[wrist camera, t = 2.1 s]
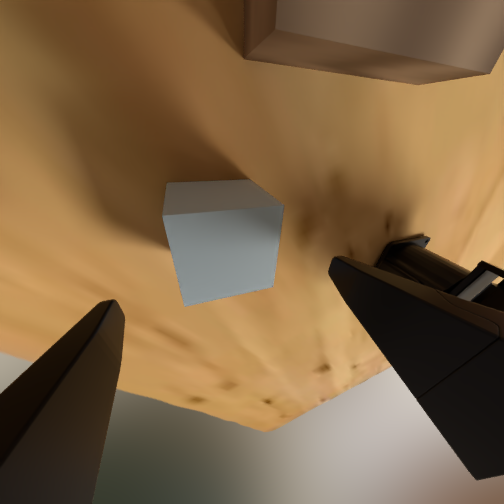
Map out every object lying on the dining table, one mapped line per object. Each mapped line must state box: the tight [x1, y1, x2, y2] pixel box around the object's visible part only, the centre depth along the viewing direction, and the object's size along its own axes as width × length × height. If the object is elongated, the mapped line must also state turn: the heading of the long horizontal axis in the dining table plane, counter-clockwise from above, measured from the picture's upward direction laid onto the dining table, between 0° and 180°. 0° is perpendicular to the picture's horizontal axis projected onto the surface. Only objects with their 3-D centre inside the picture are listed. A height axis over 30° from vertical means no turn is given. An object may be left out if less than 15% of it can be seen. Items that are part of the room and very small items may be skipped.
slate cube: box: [162, 179, 284, 307], centre depth 11 cm, size 5×5×5 cm
